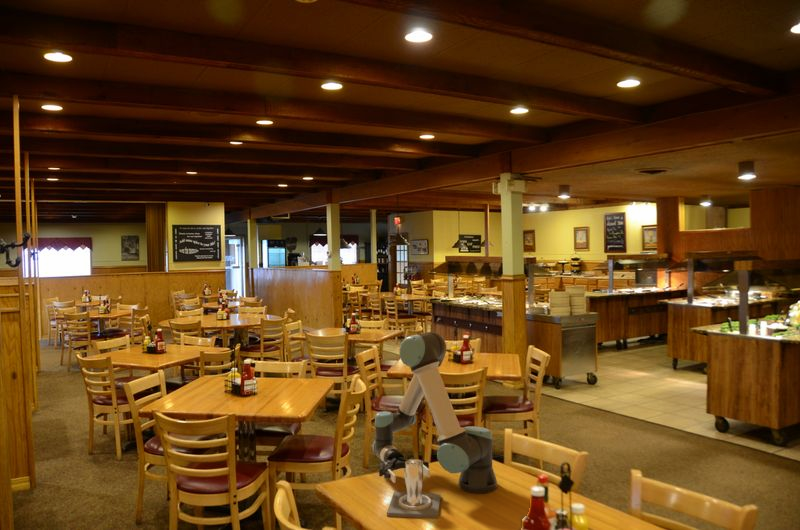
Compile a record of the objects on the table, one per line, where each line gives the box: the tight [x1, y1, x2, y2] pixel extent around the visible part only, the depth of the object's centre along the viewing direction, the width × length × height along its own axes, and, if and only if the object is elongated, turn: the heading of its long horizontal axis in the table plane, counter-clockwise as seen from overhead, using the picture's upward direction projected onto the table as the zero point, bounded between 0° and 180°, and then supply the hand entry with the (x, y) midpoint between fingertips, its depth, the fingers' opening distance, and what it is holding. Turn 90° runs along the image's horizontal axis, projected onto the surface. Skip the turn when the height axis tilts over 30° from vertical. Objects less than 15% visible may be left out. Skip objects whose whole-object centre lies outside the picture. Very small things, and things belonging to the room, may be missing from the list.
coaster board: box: [386, 491, 442, 519], centre depth 215 cm, size 18×18×2 cm
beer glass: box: [404, 458, 425, 506], centre depth 215 cm, size 7×7×15 cm
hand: (412, 476), depth 216 cm, fingers open, 13 cm apart
